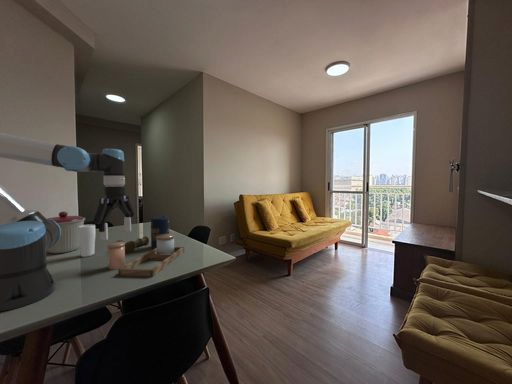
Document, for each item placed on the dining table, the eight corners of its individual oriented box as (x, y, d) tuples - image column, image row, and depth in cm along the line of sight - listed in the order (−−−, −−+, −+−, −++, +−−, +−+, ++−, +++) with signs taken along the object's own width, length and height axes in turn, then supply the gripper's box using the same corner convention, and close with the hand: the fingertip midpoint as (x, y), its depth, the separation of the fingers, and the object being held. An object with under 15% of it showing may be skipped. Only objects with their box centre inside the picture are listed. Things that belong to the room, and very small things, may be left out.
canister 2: (152, 245, 119) (152, 214, 118) (170, 243, 122) (169, 213, 121) (149, 250, 110) (148, 217, 109) (168, 248, 113) (168, 216, 112)
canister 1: (76, 243, 122) (75, 208, 121) (93, 248, 114) (92, 210, 113) (33, 253, 105) (31, 212, 104) (49, 258, 97) (47, 215, 96)
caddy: (152, 276, 79) (152, 270, 79) (118, 275, 80) (118, 269, 80) (184, 251, 108) (184, 247, 108) (158, 251, 109) (158, 246, 109)
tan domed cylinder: (118, 270, 85) (117, 246, 85) (104, 269, 85) (103, 246, 85) (129, 264, 91) (128, 242, 91) (115, 263, 92) (114, 241, 91)
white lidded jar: (169, 258, 98) (169, 238, 97) (152, 258, 98) (152, 237, 98) (177, 252, 106) (177, 233, 106) (162, 252, 107) (161, 233, 106)
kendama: (152, 245, 120) (118, 256, 101) (141, 244, 123) (106, 254, 105) (152, 235, 120) (118, 244, 101) (140, 234, 123) (106, 242, 105)
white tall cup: (99, 253, 105) (98, 224, 105) (87, 258, 98) (86, 227, 98) (87, 252, 106) (86, 224, 105) (74, 257, 99) (73, 227, 98)
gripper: (98, 186, 74) (101, 243, 75) (141, 185, 99) (143, 228, 100) (79, 186, 75) (82, 243, 76) (127, 185, 100) (128, 228, 101)
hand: (116, 235), depth 88 cm, fingers open, 13 cm apart
